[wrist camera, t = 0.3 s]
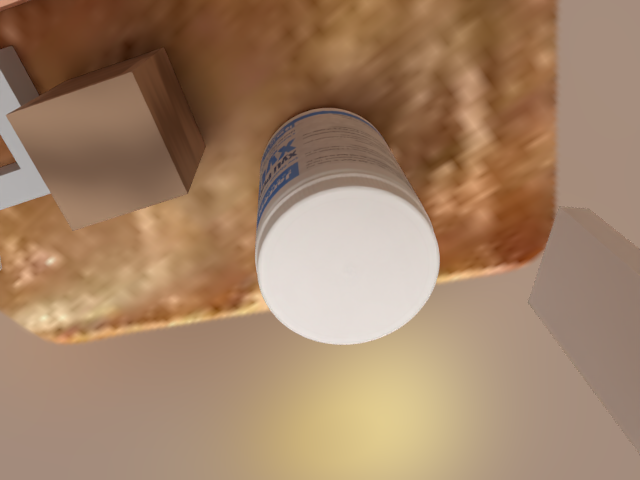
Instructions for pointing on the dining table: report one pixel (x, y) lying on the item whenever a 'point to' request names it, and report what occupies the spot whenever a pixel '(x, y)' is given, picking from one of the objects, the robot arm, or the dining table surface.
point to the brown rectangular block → (112, 139)
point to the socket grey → (4, 97)
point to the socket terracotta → (10, 3)
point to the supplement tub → (340, 231)
